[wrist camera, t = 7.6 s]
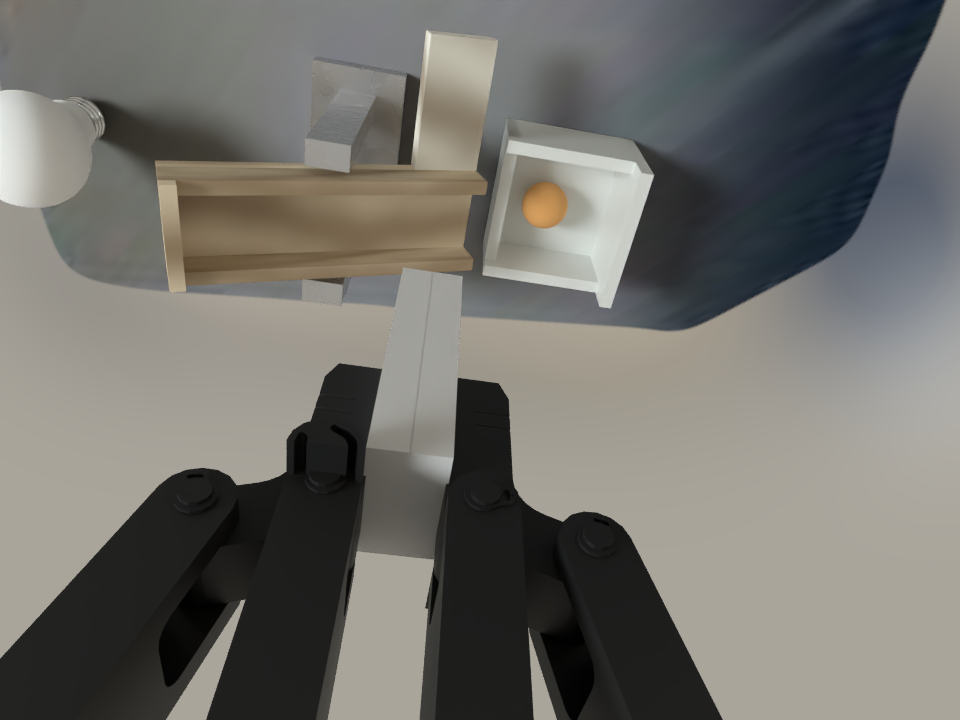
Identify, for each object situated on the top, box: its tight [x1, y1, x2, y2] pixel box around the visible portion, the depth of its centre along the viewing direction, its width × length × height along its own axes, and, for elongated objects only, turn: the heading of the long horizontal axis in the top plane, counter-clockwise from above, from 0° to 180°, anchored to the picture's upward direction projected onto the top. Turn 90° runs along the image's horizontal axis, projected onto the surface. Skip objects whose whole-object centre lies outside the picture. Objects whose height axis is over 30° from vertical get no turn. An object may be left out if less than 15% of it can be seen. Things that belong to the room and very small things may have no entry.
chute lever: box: [155, 30, 498, 292], centre depth 37 cm, size 14×18×4 cm
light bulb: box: [0, 90, 106, 208], centre depth 41 cm, size 7×7×11 cm
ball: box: [522, 182, 568, 229], centre depth 47 cm, size 3×3×3 cm
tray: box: [483, 118, 654, 308], centre depth 46 cm, size 10×9×7 cm
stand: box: [302, 57, 407, 306], centre depth 43 cm, size 13×6×12 cm, turn 170°
